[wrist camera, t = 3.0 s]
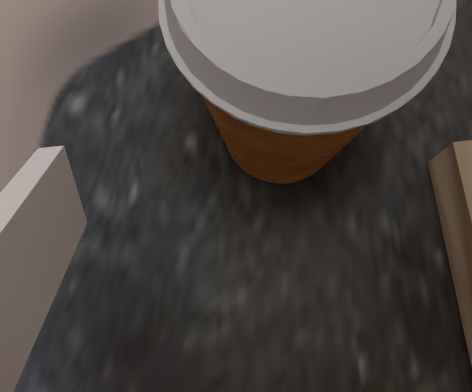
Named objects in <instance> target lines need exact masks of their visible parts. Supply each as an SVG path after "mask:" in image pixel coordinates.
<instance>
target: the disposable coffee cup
mask: <svg viewBox="0 0 472 392" xmlns="http://www.w3.org/2000/svg"><path fill="white" fill-rule="evenodd" d="M158 3H159V22H160V26H161V29H162V33H163V36H164V40H165V43H166V47H167V49H168V51H169V53H170V55H171V57H172V59H173V62H174V63H175V64H176V66H177V67H178V68H179V70H180V71H181V72H182V74H183V75H184V76H185V77H186V79H187V80H188V81H189V83H190V84H191V85H192V87H193V88H194V89H195V90H196V91H198V92H199V93H200V94H201V95H202V96H203V98H204V100H205V102H206V104H207V106H208V108H209V111H210V113H211V115H212V117H213V119H214V121H215V124H216V126H217V128H218V130H219V132H220V134H221V136H222V138H223V140H224V142H225V144H226V147H227V149H228V151H229V153H230V155H231V157H232V158H233V159H234V161H235V162H236V163H237V164H238V165H239V167H240V168H242V169H243V170H244V171H245V172H246V173H248V174H250V175H251V176H253V177H255V178H257V179H260V180H263V181H266V182H271V183H278V184H281V183H292V182H296V181H299V180H303V179H305V178H307V177H310V176H312V175H313V174H314V173H316V172H317V171H318V170H320V169H321V168H322V167H323V166H324V165H325V164H326V163H327V162H328V161H329V160H330V159H331V158H332V157H333V156H335V155H336V154H337V153H338V152H339V151H340V150H341V149H342V148H343V147H344V146H345V145H347V144H348V143H349V142H350V141H351V140H352V139H353V138H354V137H355V136H356V135H357V134H358V133H359V132H361V131H362V130H363V129H364V128H365V127H366V126H367V125H368V124H370V123H374V122H377V121H379V120H380V119H382V118H384V117H385V116H387V115H389V114H390V113H392V112H394V111H395V110H397V109H399V108H400V107H402V106H404V105H405V104H406V103H407V102H409V101H410V100H411V99H412V98H413V97H414V96H415V95H417V94H418V93H419V92H420V91H421V90H422V89H423V88H424V87H425V86H426V85H427V83H428V82H429V81H430V80H431V78H432V77H433V76H434V75H435V73H436V72H437V71H438V69H439V67H440V65H441V63H442V61H443V59H444V58H445V56H446V54H447V52H448V50H449V48H450V44H451V40H452V36H453V32H454V27H455V23H456V0H158Z"/></svg>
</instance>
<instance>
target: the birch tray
mask: <svg viewBox="0 0 472 392" xmlns="http://www.w3.org/2000/svg"><path fill="white" fill-rule="evenodd" d="M428 167H429V172H430V176H431V181H432V186H433V190H434V195H435V200H436V204H437V209H438V214H439V218H440V223H441V227H442V232H443V237H444V241H445V246H446V251H447V255H448V260H449V265H450V269H451V274H452V279H453V283H454V288H455V292H456V297H457V302H458V306H459V311H460V316H461V320H462V325H463V330H464V334H465V339H466V343H467V348H468V353H469V357H470V362H471V367H472V140H468V141H458V142H452V143H451V144H450V145H448V146H447V147H446V148H445V149H444V150H442V151H441V152H440V153H439V154H438V155H436V156H435V157H434V158H433V159H432V160H430V161H429V162H428Z"/></svg>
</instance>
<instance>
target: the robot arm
mask: <svg viewBox="0 0 472 392" xmlns="http://www.w3.org/2000/svg"><path fill="white" fill-rule="evenodd" d="M86 225H87V221H86V217H85V214H84V211H83V207H82V204H81V201H80V197H79V194H78V191H77V188H76V184H75V181H74V178H73V174H72V171H71V168H70V164H69V161H68V158H67V154H66V151H65V148H64V146H56V147H47V148H38V149H37V150H36V152H35V153H34V154H33V155H32V156H31V158H30V159H29V160H28V161H27V162H26V164H25V165H24V166H23V167H22V168H21V170H20V171H19V172H18V173H17V174H16V175H15V176H14V178H13V179H12V180H11V181H10V182H9V184H8V185H7V186H6V187H5V188H4V189H3V191H2V192H1V193H0V392H13V391H14V389H15V387H16V384H17V382H18V380H19V378H20V375H21V373H22V371H23V368H24V366H25V364H26V362H27V359H28V357H29V355H30V352H31V350H32V348H33V346H34V343H35V341H36V339H37V336H38V334H39V332H40V330H41V327H42V325H43V323H44V320H45V318H46V316H47V314H48V311H49V309H50V307H51V304H52V302H53V300H54V298H55V295H56V293H57V291H58V288H59V286H60V284H61V282H62V279H63V277H64V275H65V272H66V270H67V268H68V266H69V263H70V261H71V259H72V256H73V254H74V252H75V250H76V247H77V245H78V243H79V240H80V238H81V236H82V234H83V231H84V229H85V227H86Z"/></svg>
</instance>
